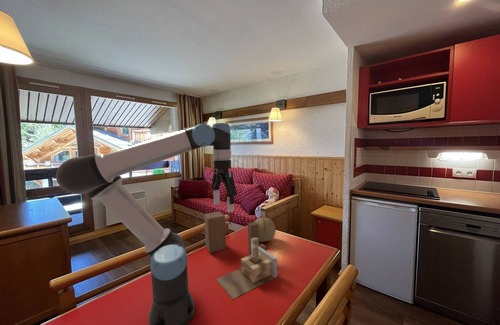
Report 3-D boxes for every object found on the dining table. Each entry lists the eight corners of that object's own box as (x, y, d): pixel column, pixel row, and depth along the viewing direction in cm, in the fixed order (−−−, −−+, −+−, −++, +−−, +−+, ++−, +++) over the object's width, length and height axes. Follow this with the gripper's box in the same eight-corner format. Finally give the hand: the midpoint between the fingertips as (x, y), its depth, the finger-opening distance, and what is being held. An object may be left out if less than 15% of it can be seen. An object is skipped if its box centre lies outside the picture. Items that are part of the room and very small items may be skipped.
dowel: (254, 275, 92) (253, 241, 91) (250, 272, 95) (249, 238, 94) (260, 273, 94) (259, 239, 93) (256, 269, 97) (255, 236, 96)
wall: (274, 278, 92) (274, 259, 91) (254, 262, 104) (254, 245, 103) (276, 277, 93) (276, 258, 92) (257, 261, 105) (256, 244, 104)
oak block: (253, 283, 88) (253, 269, 87) (241, 271, 96) (240, 258, 96) (271, 274, 94) (271, 261, 93) (258, 264, 102) (258, 252, 101)
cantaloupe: (264, 249, 117) (263, 223, 116) (247, 240, 128) (246, 217, 127) (280, 240, 127) (280, 217, 126) (263, 233, 138) (263, 211, 137)
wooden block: (263, 251, 115) (262, 220, 114) (267, 255, 111) (266, 223, 109) (248, 254, 112) (247, 222, 110) (251, 259, 108) (250, 225, 106)
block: (205, 246, 123) (203, 213, 121) (221, 242, 127) (220, 210, 125) (209, 253, 114) (207, 218, 112) (226, 249, 118) (225, 215, 116)
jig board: (232, 299, 80) (232, 299, 80) (215, 279, 92) (215, 278, 92) (278, 276, 93) (278, 275, 93) (258, 261, 106) (258, 260, 106)
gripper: (245, 160, 81) (245, 213, 82) (217, 157, 101) (218, 200, 103) (228, 161, 76) (229, 217, 78) (203, 158, 97) (204, 202, 99)
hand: (223, 207), depth 91 cm, fingers open, 13 cm apart
